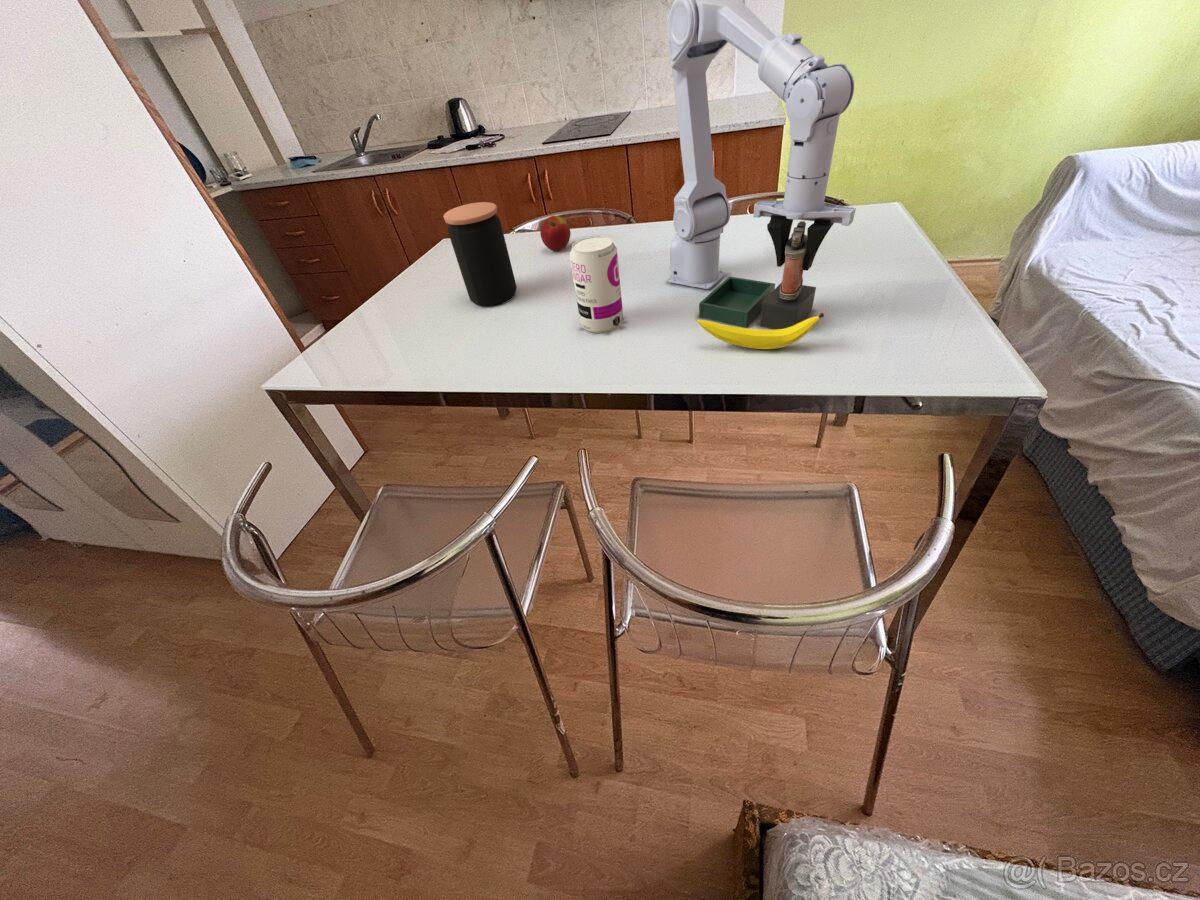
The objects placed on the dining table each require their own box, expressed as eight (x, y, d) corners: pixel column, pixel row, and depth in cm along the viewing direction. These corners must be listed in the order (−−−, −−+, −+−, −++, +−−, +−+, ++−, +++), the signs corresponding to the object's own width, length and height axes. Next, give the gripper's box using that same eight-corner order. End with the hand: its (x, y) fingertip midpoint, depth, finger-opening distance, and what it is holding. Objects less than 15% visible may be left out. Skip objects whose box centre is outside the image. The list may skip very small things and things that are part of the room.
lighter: (798, 300, 78) (808, 237, 72) (776, 298, 80) (784, 236, 73) (804, 279, 83) (815, 218, 77) (784, 277, 85) (792, 217, 78)
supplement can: (628, 314, 93) (622, 234, 83) (616, 336, 88) (607, 253, 78) (589, 312, 96) (578, 234, 86) (575, 333, 90) (561, 253, 80)
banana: (697, 341, 83) (697, 307, 79) (816, 345, 78) (823, 308, 74) (695, 350, 81) (695, 316, 77) (817, 354, 76) (824, 318, 72)
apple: (537, 254, 123) (530, 221, 118) (555, 242, 128) (549, 210, 122) (561, 257, 120) (555, 223, 114) (579, 245, 124) (574, 212, 119)
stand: (759, 326, 84) (762, 302, 81) (778, 305, 89) (781, 281, 86) (794, 333, 81) (798, 308, 78) (811, 311, 86) (816, 287, 83)
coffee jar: (526, 288, 108) (506, 202, 96) (501, 310, 102) (475, 220, 90) (488, 284, 112) (464, 201, 100) (460, 305, 106) (431, 219, 94)
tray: (698, 317, 89) (699, 303, 87) (728, 290, 96) (729, 276, 94) (746, 327, 85) (747, 312, 83) (773, 298, 91) (775, 283, 89)
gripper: (748, 179, 71) (741, 269, 80) (852, 184, 64) (831, 283, 73) (767, 165, 75) (758, 253, 84) (868, 169, 68) (846, 265, 77)
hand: (793, 266), depth 79 cm, fingers closed on lighter, 4 cm apart
